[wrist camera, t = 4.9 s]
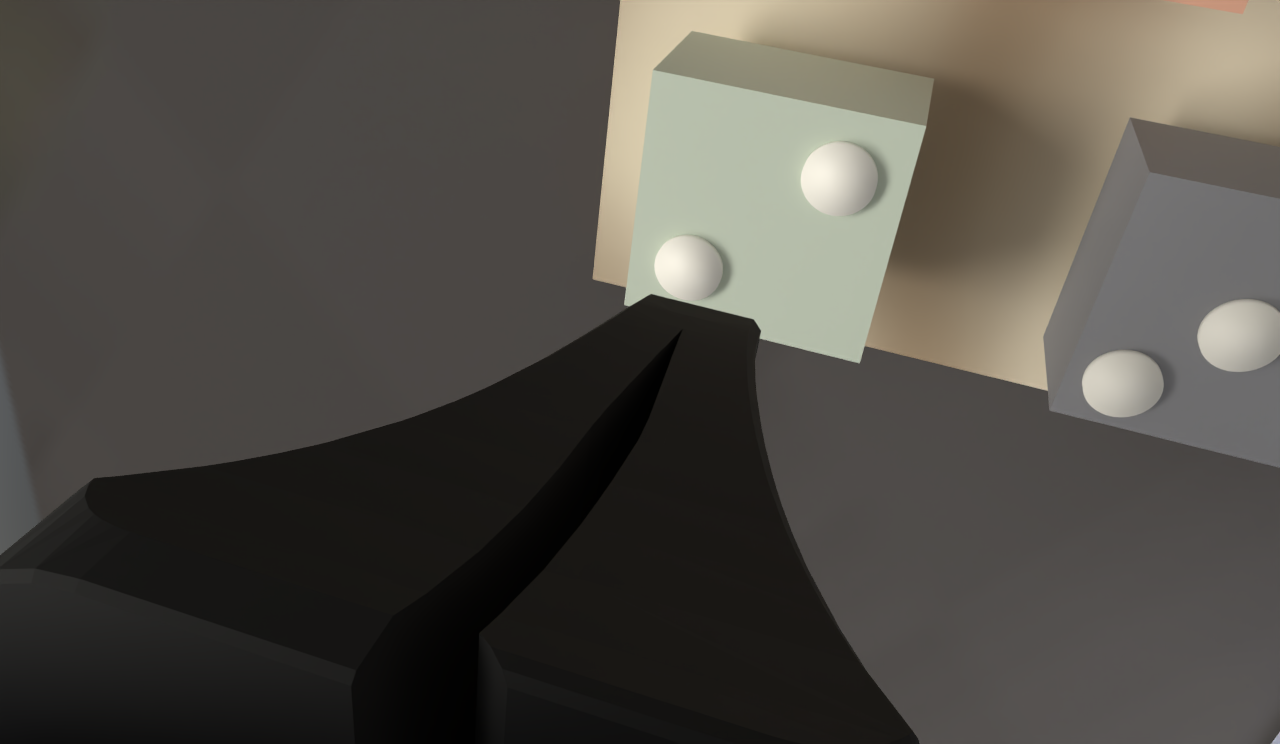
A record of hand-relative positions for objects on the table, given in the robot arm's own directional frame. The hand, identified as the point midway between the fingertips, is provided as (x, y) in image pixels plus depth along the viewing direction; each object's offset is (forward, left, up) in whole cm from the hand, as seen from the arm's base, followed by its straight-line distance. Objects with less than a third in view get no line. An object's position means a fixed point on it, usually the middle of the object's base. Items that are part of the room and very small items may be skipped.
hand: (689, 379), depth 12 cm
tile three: (-7, 0, -7) cm, 10 cm away
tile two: (0, 0, -7) cm, 7 cm away
